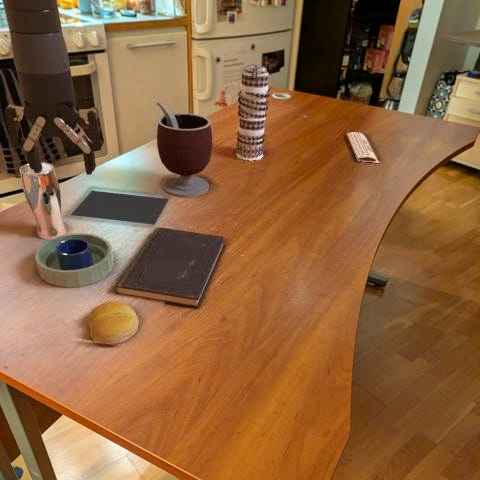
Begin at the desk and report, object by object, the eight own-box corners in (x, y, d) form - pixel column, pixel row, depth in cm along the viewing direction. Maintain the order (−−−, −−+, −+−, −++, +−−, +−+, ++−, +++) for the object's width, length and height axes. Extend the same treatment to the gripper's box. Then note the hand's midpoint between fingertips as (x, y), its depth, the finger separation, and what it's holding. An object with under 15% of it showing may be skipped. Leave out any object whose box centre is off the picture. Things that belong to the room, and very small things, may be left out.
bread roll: (93, 351, 75) (89, 333, 72) (87, 317, 81) (83, 299, 78) (144, 341, 77) (142, 323, 75) (134, 308, 84) (131, 291, 81)
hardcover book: (225, 245, 102) (225, 236, 100) (198, 308, 85) (198, 299, 83) (155, 235, 104) (155, 226, 102) (115, 295, 86) (114, 285, 85)
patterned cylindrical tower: (270, 156, 144) (279, 67, 128) (250, 163, 139) (257, 72, 123) (249, 148, 149) (254, 61, 133) (228, 154, 144) (232, 65, 128)
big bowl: (26, 284, 87) (21, 267, 85) (58, 246, 98) (54, 229, 96) (98, 293, 86) (95, 276, 84) (123, 254, 97) (121, 237, 95)
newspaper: (346, 136, 163) (347, 131, 162) (366, 138, 163) (367, 132, 162) (356, 162, 145) (358, 156, 144) (379, 163, 145) (380, 157, 144)
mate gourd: (221, 186, 126) (224, 108, 113) (189, 203, 117) (188, 121, 104) (178, 171, 132) (175, 96, 119) (144, 186, 123) (137, 107, 110)
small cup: (55, 273, 90) (50, 253, 87) (68, 256, 95) (64, 236, 92) (86, 277, 89) (82, 256, 86) (97, 259, 94) (94, 240, 91)
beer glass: (35, 228, 103) (17, 163, 94) (67, 224, 105) (54, 160, 96) (36, 244, 98) (18, 176, 89) (70, 239, 100) (56, 173, 91)
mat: (66, 220, 107) (66, 219, 106) (92, 191, 119) (92, 190, 119) (150, 230, 105) (150, 228, 105) (168, 200, 118) (168, 198, 117)
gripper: (97, 62, 71) (110, 165, 81) (2, 57, 70) (28, 162, 81) (86, 74, 65) (102, 183, 76) (-17, 69, 64) (13, 180, 75)
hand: (64, 172), depth 78 cm, fingers open, 8 cm apart
